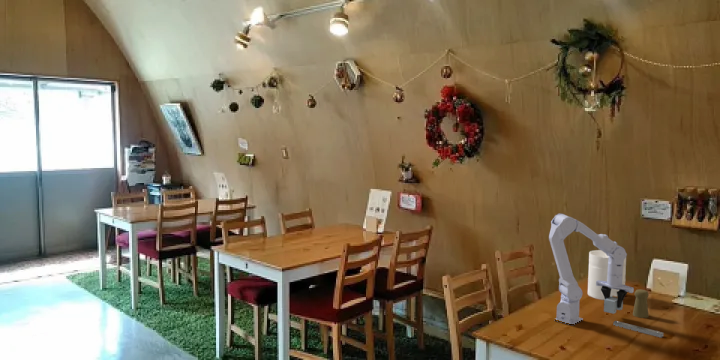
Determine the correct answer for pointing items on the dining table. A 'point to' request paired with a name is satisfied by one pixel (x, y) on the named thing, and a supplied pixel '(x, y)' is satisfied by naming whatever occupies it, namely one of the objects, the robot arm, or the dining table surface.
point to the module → (611, 305)
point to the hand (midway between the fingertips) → (613, 305)
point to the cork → (641, 304)
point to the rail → (638, 329)
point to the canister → (600, 273)
